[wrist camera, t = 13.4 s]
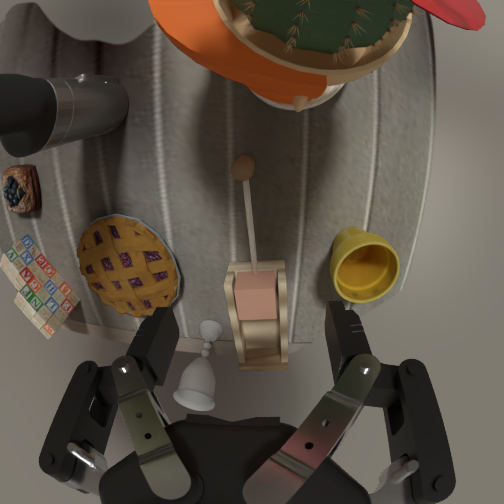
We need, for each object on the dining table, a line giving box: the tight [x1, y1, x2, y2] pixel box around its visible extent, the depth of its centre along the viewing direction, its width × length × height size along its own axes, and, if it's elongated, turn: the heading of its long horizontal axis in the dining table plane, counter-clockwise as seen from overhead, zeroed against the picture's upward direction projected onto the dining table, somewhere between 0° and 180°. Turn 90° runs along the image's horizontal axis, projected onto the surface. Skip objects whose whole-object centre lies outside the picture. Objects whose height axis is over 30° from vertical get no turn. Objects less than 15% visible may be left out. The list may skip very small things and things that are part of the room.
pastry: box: [3, 164, 41, 213], centre depth 39 cm, size 11×12×6 cm
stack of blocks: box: [0, 234, 80, 339], centre depth 47 cm, size 21×6×12 cm, turn 34°
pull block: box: [231, 154, 277, 320], centre depth 39 cm, size 24×6×6 cm, turn 5°
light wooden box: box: [224, 259, 288, 371], centre depth 48 cm, size 20×9×8 cm, turn 5°
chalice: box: [173, 320, 223, 411], centre depth 47 cm, size 7×7×18 cm
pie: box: [77, 214, 181, 318], centre depth 46 cm, size 22×22×5 cm
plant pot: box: [330, 227, 400, 303], centre depth 40 cm, size 10×10×10 cm
